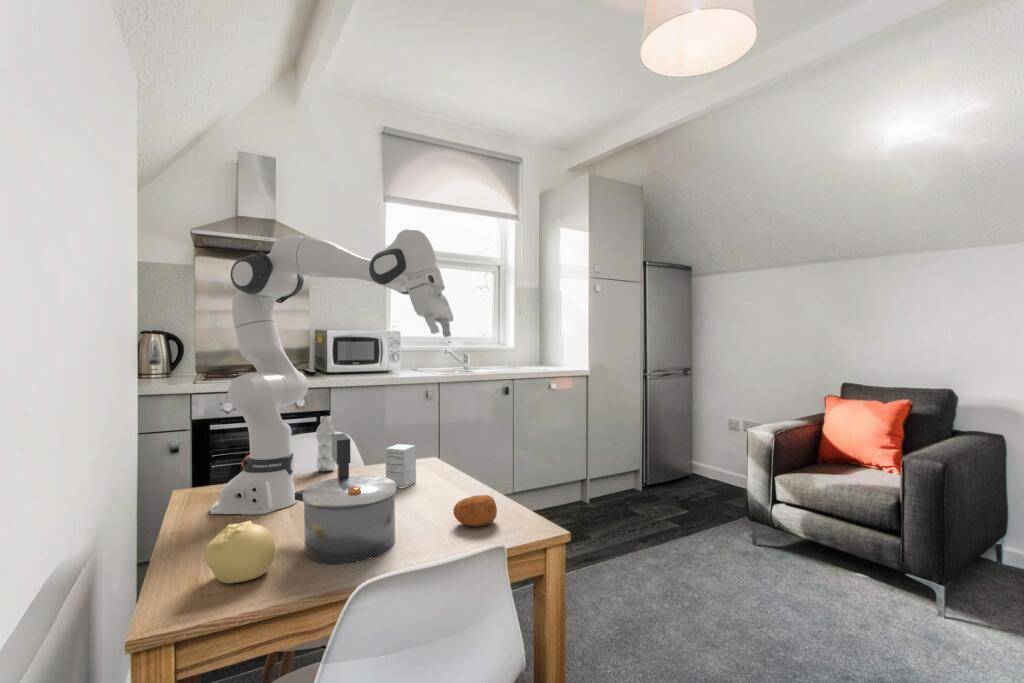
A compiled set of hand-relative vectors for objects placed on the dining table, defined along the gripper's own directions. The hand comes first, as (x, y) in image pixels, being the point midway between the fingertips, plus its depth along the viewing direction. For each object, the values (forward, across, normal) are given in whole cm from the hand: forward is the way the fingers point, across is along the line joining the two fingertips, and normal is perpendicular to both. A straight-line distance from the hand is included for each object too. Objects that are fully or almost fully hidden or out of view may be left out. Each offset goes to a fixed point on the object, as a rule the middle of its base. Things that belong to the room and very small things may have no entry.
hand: (441, 334), depth 131 cm
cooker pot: (+42, +13, -34) cm, 56 cm away
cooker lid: (+30, +12, -30) cm, 44 cm away
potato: (+50, -3, -7) cm, 50 cm away
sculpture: (+40, +32, -45) cm, 68 cm away
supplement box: (+36, -33, -38) cm, 62 cm away
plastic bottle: (+24, -44, -70) cm, 87 cm away
